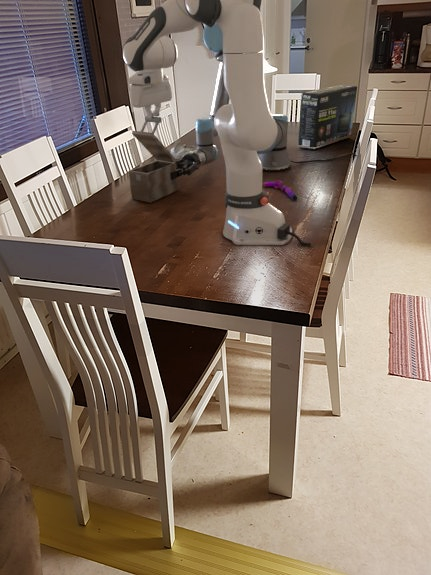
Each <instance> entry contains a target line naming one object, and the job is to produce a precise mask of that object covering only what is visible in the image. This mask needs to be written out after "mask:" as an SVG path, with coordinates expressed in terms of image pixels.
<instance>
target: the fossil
mask: <svg viewBox="0 0 431 575" xmlns="http://www.w3.org/2000/svg"><path fill="white" fill-rule="evenodd" d="M196 149H197V146H195V145H188V146H187V145H186V143H184V142H183V143H181V142H176V143H175V145H174V146H173V147H172V148H171V149H170V150H168V149H167V150H168V151H169V152H170V153H171V154H172V156H173V157H174V158H175V159H176V161H177V160H179V159H182V157H183V156H184V155H185V154H187V153H189V152H191V151H194V150H196Z"/></svg>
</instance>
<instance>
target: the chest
mask: <svg viewBox="0 0 431 575" xmlns="http://www.w3.org/2000/svg"><path fill="white" fill-rule="evenodd" d="M176 166H177V164H176V163H172V162H166V161H161V160H154V161H152V162H149V163H146V164H143V165H140V166H137V167H134V168H132V169H129V170H128V177H129V178H128V179H129V186H130V194H131V199H132V200H136V201H141V202H145V203H153V202H155V201H158V200H160V199H162V198H163V197H166V196H168V195H170V194H173V193H175V192H177V191H179V187H178V177H177V178H175V179H173V180H171V172H174V171H176V170H177V169H176Z"/></svg>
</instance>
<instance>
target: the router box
mask: <svg viewBox="0 0 431 575" xmlns="http://www.w3.org/2000/svg"><path fill="white" fill-rule="evenodd" d="M357 93H358V86H356V85H350V84H339V85H338V84H337V85H334V86H328V87H324V88H318V89H314V90H309V91H304V92H301V93H300V109H299V110H300V111H299V124H298V137H297V146H298V145H302V146H307V147H317V146H320V145H323V144H325V143H328V142H331V141H333V140H336V139H338V138H341V137H344V136H347V135H351V136H352V133H353V132H352V131H353V125H354V115H355V109H356V99H357ZM311 151H313V150H312V149H311Z"/></svg>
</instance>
